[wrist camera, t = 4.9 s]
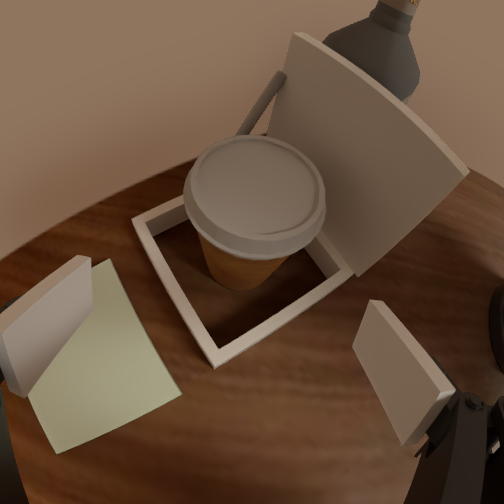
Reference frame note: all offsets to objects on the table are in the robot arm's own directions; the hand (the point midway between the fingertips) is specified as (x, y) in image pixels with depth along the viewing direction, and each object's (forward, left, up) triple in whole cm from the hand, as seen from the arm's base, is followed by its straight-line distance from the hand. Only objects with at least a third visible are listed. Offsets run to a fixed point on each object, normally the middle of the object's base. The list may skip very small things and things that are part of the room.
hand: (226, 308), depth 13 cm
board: (+12, -5, -13) cm, 18 cm away
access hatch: (-6, -6, -13) cm, 16 cm away
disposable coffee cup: (-6, -6, -14) cm, 16 cm away
